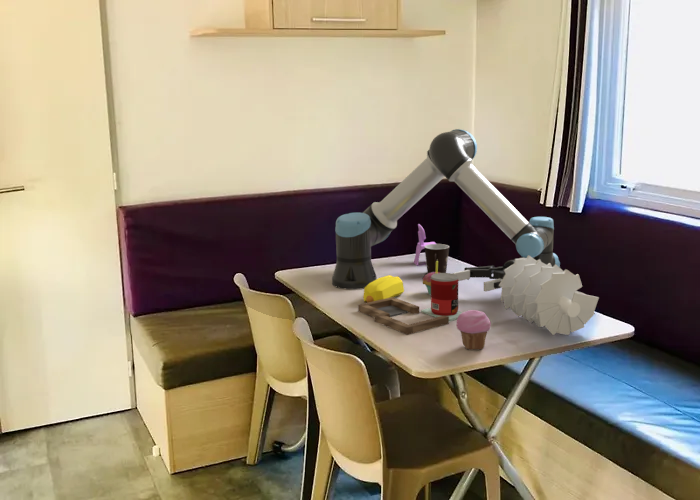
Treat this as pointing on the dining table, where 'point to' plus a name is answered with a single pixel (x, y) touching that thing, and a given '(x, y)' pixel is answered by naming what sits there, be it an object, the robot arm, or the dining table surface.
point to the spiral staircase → (546, 296)
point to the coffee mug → (436, 257)
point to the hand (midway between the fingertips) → (468, 282)
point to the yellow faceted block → (383, 288)
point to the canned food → (444, 294)
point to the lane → (393, 307)
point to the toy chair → (421, 243)
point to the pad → (429, 312)
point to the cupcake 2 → (473, 328)
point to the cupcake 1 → (429, 279)
